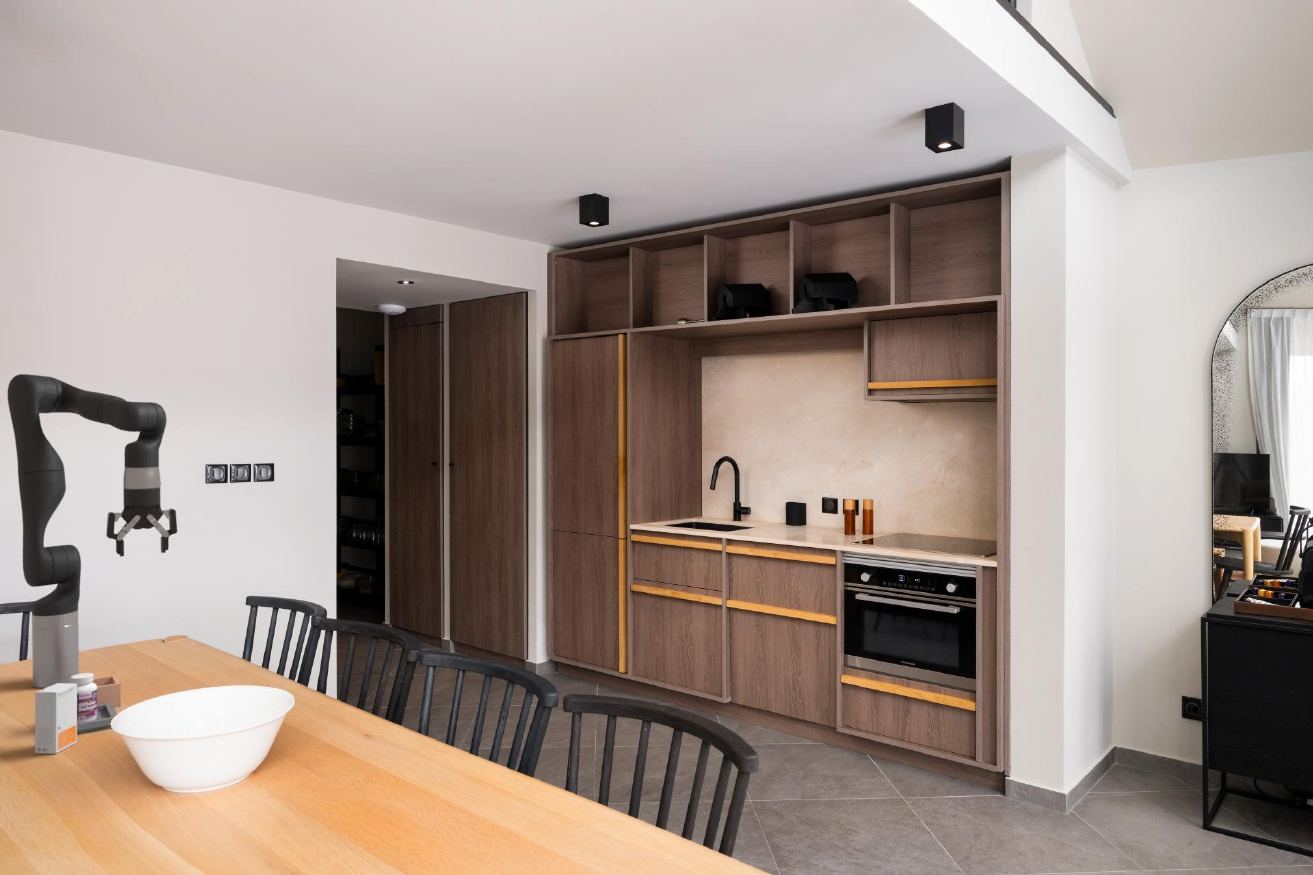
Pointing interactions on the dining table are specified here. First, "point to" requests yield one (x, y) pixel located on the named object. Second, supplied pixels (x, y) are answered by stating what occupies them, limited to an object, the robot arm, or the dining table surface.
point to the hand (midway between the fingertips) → (142, 554)
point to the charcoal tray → (98, 720)
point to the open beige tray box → (108, 690)
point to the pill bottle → (85, 697)
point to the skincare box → (55, 718)
